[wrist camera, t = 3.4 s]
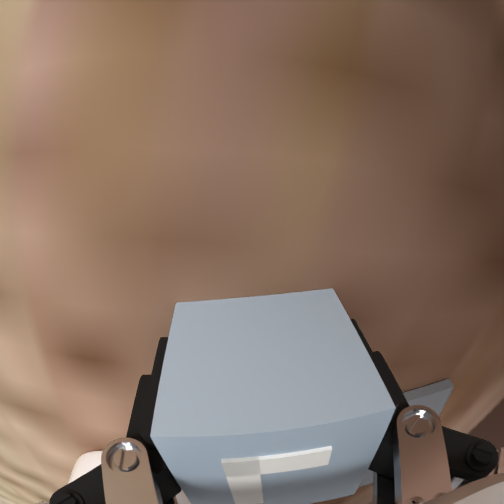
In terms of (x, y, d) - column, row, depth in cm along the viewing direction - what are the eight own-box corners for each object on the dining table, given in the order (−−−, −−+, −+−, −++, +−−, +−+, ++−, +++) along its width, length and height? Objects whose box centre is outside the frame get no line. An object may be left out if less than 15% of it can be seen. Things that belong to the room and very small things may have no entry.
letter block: (175, 302, 10) (149, 440, 5) (332, 288, 10) (397, 411, 5) (201, 405, 12) (198, 516, 7) (322, 392, 12) (354, 498, 8)
